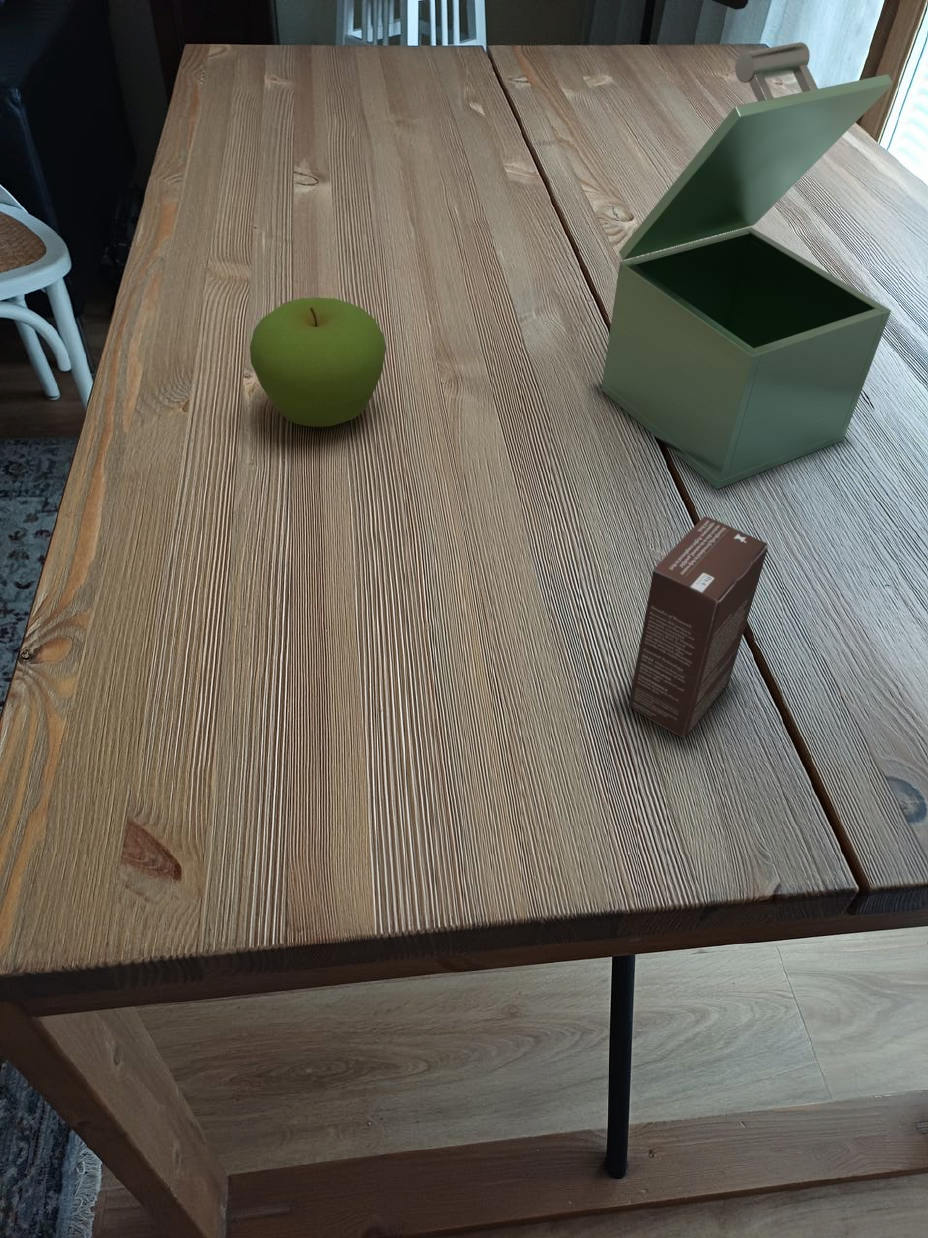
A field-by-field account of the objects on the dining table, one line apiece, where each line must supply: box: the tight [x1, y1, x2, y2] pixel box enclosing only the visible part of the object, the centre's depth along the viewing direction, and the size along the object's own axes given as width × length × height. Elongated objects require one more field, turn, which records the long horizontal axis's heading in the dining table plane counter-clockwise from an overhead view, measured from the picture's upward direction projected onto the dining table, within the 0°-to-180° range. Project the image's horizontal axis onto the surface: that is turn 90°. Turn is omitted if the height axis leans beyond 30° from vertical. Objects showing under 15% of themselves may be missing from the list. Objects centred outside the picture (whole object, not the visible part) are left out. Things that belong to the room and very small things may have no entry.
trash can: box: [600, 226, 892, 490], centre depth 79 cm, size 16×14×12 cm
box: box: [628, 516, 770, 739], centre depth 58 cm, size 6×4×12 cm
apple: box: [249, 297, 387, 428], centre depth 78 cm, size 11×10×10 cm
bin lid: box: [618, 41, 894, 261], centre depth 72 cm, size 16×14×5 cm
